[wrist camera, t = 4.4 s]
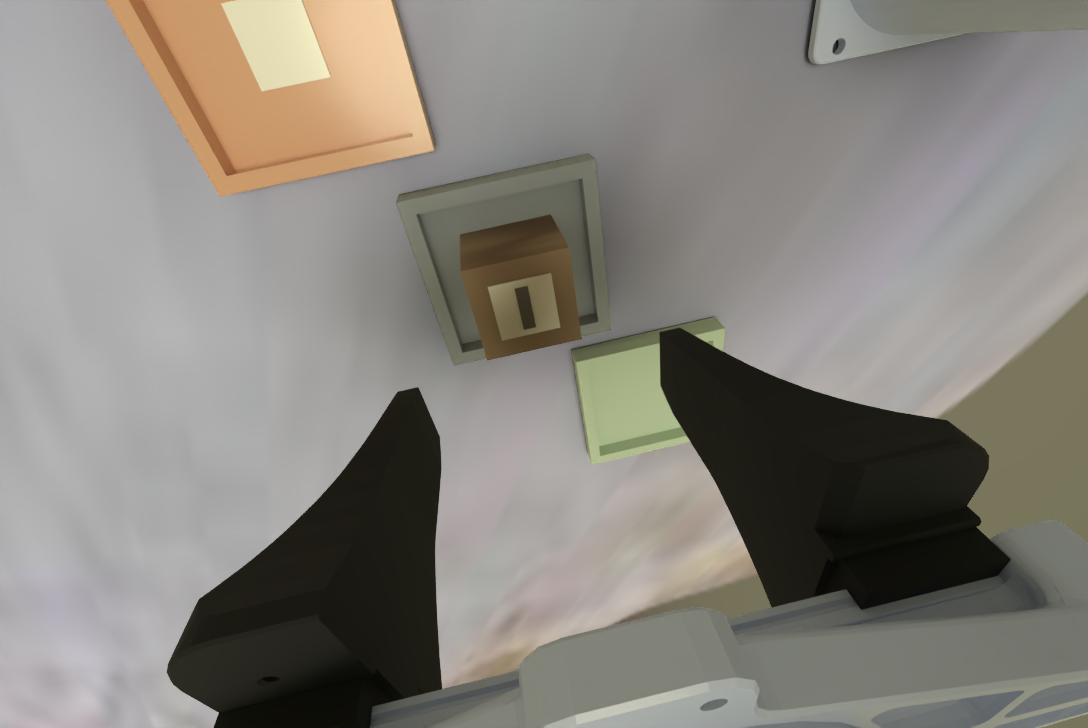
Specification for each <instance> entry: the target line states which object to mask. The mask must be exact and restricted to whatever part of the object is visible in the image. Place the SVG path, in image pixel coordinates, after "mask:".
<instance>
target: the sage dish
mask: <svg viewBox="0 0 1088 728" xmlns="http://www.w3.org/2000/svg"><path fill="white" fill-rule="evenodd" d="M679 327H680V328H682V329H684V330H685V331H687V332H689V333H691V334H693V335H694V336H696V337H698V338H700V339H701V340H703V341H705V342H707V343H708V344H710V345H712V346H714V347H716V348H717V349H719V350H721V351H723V348H724V336H725V327H724V326H723V325H722V324H721V323H720V322H719V321H718V320H717V319H716V318H715V317H713V318H708V319H704V320H699V321H695V322H691V323H686V324H682V325H678V326H673V327H669V328H664V329H660V330H656V331H651V332H647V333H643V334H638V335H634V336H630V337H625V338H621V339H616V340H612V341H608V342H603V343H599V344H595V345H590V346H586V347H581V348H577V349H573V350H571V351H572V358H573V364H574V370H575V376H576V383H577V389H578V395H579V401H580V408H581V414H582V420H583V426H584V433H585V439H586V445H587V451H588V454H589V457H590V461H591V464H592V465H593V464H598V463H602V462H606V461H610V460H615V459H619V458H623V457H627V456H632V455H636V454H640V453H644V452H648V451H653V450H657V449H661V448H665V447H670V446H674V445H678V444H682V443H687V442H690V440H689V439H688V437H687V435H686V434H685V432H684V431H683V429H682V427H681V426H680V424H679V423H678V421H677V419H676V418H675V416H674V415H673V413H672V411H671V408H670V406H669V404H668V402H667V400H666V398H665V395H664V393H663V391H662V388H661V386H660V338H659V332H662V331H666V330H671V329H675V328H679Z"/></svg>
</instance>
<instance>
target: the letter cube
mask: <svg viewBox="0 0 1088 728" xmlns="http://www.w3.org/2000/svg"><path fill="white" fill-rule="evenodd" d="M460 272H461V275H462V278H463V282H464V285H465V288H466V292H467V295H468V298H469V302H470V305H471V308H472V312H473V315H474V318H475V322H476V325H477V328H478V332H479V335H480V338H481V342H482V345H483V348H484V352H485V355H486V358H487V360H491V359H495V358H500V357H504V356H509V355H513V354H517V353H522V352H526V351H530V350H535V349H539V348H544V347H548V346H552V345H557V344H561V343H566V342H570V341H574V340H579V339H582V337H581V330H580V323H579V316H578V309H577V302H576V294H575V287H574V280H573V273H572V266H571V259H570V252H569V247H568V245H567V243H566V241H565V239H564V238H563V236H562V234H561V232H560V230H559V229H558V227H557V225H556V223H555V221H554V220H553V218H552V216H551V214H550V215H546V216H541V217H536V218H532V219H527V220H523V221H518V222H514V223H509V224H505V225H500V226H495V227H491V228H486V229H482V230H477V231H473V232H468V233H464V234H460Z"/></svg>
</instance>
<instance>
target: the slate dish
mask: <svg viewBox="0 0 1088 728" xmlns="http://www.w3.org/2000/svg"><path fill="white" fill-rule="evenodd" d="M396 205H397V208H398V210H399V213H400V216H401V219H402V222H403V224H404V227H405V230H406V233H407V236H408V238H409V241H410V244H411V247H412V250H413V252H414V255H415V258H416V261H417V264H418V266H419V269H420V272H421V275H422V278H423V280H424V283H425V286H426V289H427V292H428V294H429V297H430V300H431V303H432V306H433V308H434V311H435V314H436V317H437V320H438V322H439V325H440V328H441V331H442V334H443V336H444V339H445V342H446V345H447V348H448V350H449V353H450V356H451V359H452V362H453V364H454V365H458V364H462V363H467V362H471V361H475V360H480V359H484V358H486V355H485V352H484V348H483V345H482V342H481V338H480V335H479V332H478V328H477V325H476V322H475V318H474V315H473V312H472V308H471V305H470V302H469V298H468V295H467V292H466V288H465V285H464V282H463V278H462V275H461V272H460V234H464V233H468V232H473V231H477V230H482V229H486V228H491V227H495V226H500V225H505V224H509V223H514V222H518V221H523V220H527V219H532V218H536V217H541V216H546V215H550V214H551V216H552V218H553V220H554V221H555V223H556V225H557V227H558V229H559V230H560V232H561V234H562V236H563V238H564V239H565V241H566V243H567V245H568V247H569V252H570V259H571V266H572V273H573V280H574V287H575V294H576V302H577V309H578V316H579V323H580V330H581V336H585V335H589V334H594V333H598V332H603V331H607V330H611V321H610V311H609V300H608V289H607V278H606V267H605V257H604V246H603V235H602V224H601V213H600V203H599V192H598V181H597V170H596V159H594V158H593V157H592V156H591V155H589V154H584V155H580V156H575V157H571V158H566V159H561V160H557V161H552V162H548V163H543V164H538V165H534V166H529V167H524V168H520V169H515V170H511V171H506V172H501V173H497V174H492V175H488V176H483V177H478V178H474V179H469V180H464V181H460V182H455V183H451V184H446V185H441V186H437V187H432V188H428V189H423V190H418V191H414V192H409V193H404V194H400V195H399V196H398V199H397V201H396Z"/></svg>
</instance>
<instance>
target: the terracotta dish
mask: <svg viewBox="0 0 1088 728" xmlns="http://www.w3.org/2000/svg"><path fill="white" fill-rule="evenodd" d="M106 2H107V3H108V5H109V7H110V8H111V10H112V12H113V14H114V15H115V17H116V19H117V20H118V22H119V24H120V26H121V27H122V29H123V31H124V33H125V34H126V36H127V38H128V39H129V41H130V43H131V45H132V46H133V48H134V50H135V51H136V53H137V55H138V57H139V58H140V60H141V62H142V64H143V65H144V67H145V69H146V70H147V72H148V74H149V76H150V77H151V79H152V81H153V82H154V84H155V86H156V88H157V89H158V91H159V93H160V94H161V96H162V98H163V100H164V101H165V103H166V105H167V107H168V108H169V110H170V112H171V113H172V115H173V117H174V119H175V120H176V122H177V124H178V125H179V127H180V129H181V131H182V132H183V134H184V136H185V138H186V139H187V141H188V143H189V144H190V146H191V148H192V150H193V151H194V153H195V155H196V156H197V158H198V160H199V162H200V163H201V165H202V167H203V169H204V170H205V172H206V174H207V175H208V177H209V179H210V181H211V182H212V184H213V186H214V187H215V189H216V191H217V193H218V194H219V196H220V197H221V196H225V195H230V194H235V193H239V192H244V191H249V190H253V189H258V188H263V187H267V186H272V185H277V184H281V183H286V182H291V181H295V180H300V179H305V178H309V177H314V176H319V175H323V174H328V173H333V172H337V171H342V170H347V169H351V168H356V167H361V166H365V165H370V164H375V163H379V162H384V161H389V160H393V159H398V158H403V157H407V156H412V155H417V154H421V153H426V152H431V151H434V150H435V146H436V144H435V141H434V137H433V134H432V130H431V127H430V123H429V120H428V116H427V113H426V109H425V106H424V102H423V99H422V95H421V92H420V88H419V84H418V81H417V77H416V74H415V70H414V67H413V63H412V60H411V56H410V53H409V49H408V46H407V42H406V39H405V35H404V32H403V28H402V25H401V21H400V18H399V14H398V11H397V7H396V4H395V0H106Z"/></svg>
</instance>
